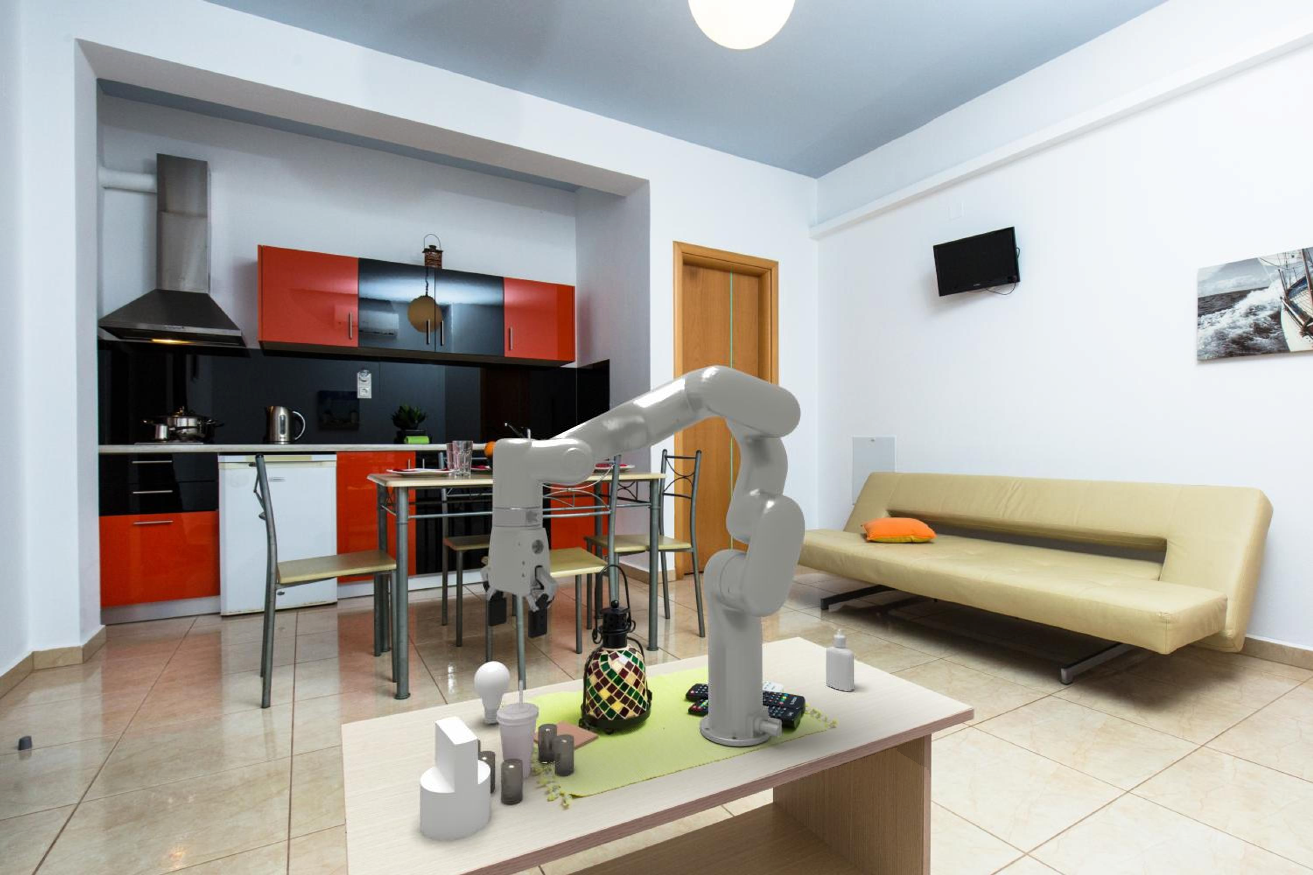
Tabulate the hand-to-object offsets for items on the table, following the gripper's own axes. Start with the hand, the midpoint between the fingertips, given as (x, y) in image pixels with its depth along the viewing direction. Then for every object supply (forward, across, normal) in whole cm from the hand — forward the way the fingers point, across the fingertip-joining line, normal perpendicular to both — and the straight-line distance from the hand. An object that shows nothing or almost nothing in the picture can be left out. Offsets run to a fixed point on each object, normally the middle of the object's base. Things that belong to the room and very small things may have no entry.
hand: (516, 630), depth 98 cm
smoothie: (+22, 0, 0) cm, 22 cm away
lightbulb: (+22, +18, -9) cm, 30 cm away
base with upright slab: (+22, -3, +13) cm, 26 cm away
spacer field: (+22, 0, 0) cm, 22 cm away
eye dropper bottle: (+22, -24, -65) cm, 72 cm away
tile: (+22, +3, -13) cm, 25 cm away
